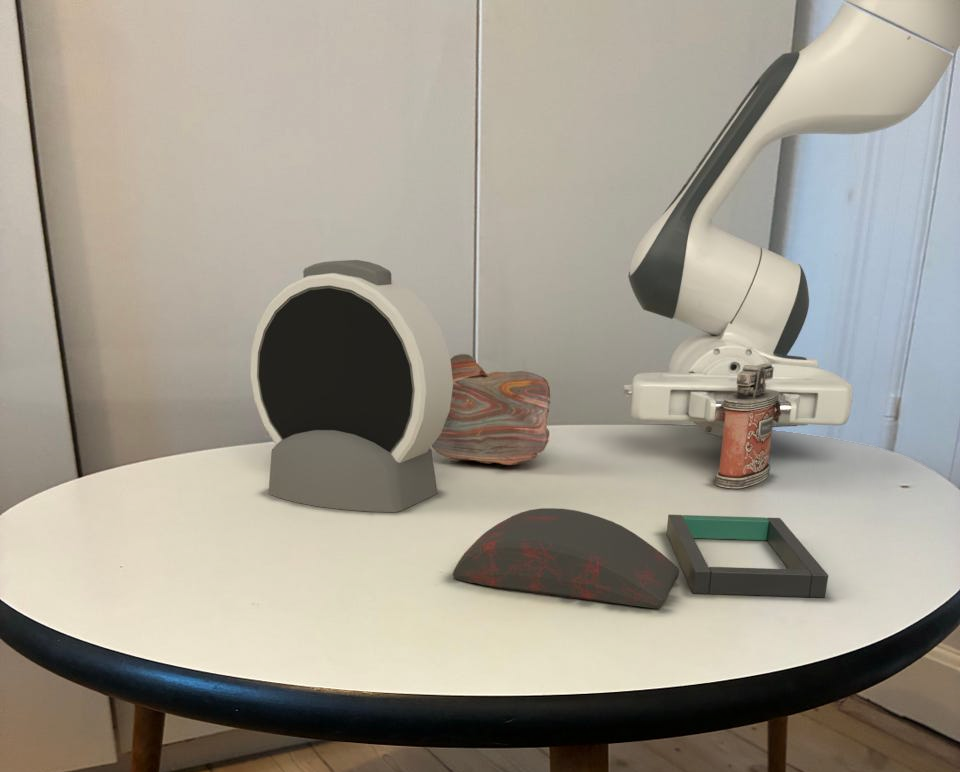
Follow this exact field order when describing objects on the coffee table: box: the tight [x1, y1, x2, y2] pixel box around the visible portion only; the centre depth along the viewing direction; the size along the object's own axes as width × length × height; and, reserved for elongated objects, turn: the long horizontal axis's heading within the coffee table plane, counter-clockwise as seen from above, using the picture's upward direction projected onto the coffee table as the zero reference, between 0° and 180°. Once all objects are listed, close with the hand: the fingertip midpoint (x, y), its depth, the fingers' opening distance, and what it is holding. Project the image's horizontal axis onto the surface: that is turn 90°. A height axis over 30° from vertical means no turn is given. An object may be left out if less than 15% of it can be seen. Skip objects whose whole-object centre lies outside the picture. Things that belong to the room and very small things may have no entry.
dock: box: [666, 514, 829, 598], centre depth 69 cm, size 8×13×2 cm, turn 177°
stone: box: [431, 353, 551, 466], centre depth 96 cm, size 13×8×10 cm
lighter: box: [715, 364, 779, 489], centre depth 91 cm, size 8×3×10 cm, turn 145°
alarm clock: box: [249, 259, 453, 513], centre depth 82 cm, size 16×10×18 cm, turn 65°
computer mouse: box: [452, 507, 680, 610], centre depth 65 cm, size 8×14×4 cm, turn 71°
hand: (753, 412), depth 89 cm, fingers closed on lighter, 5 cm apart
